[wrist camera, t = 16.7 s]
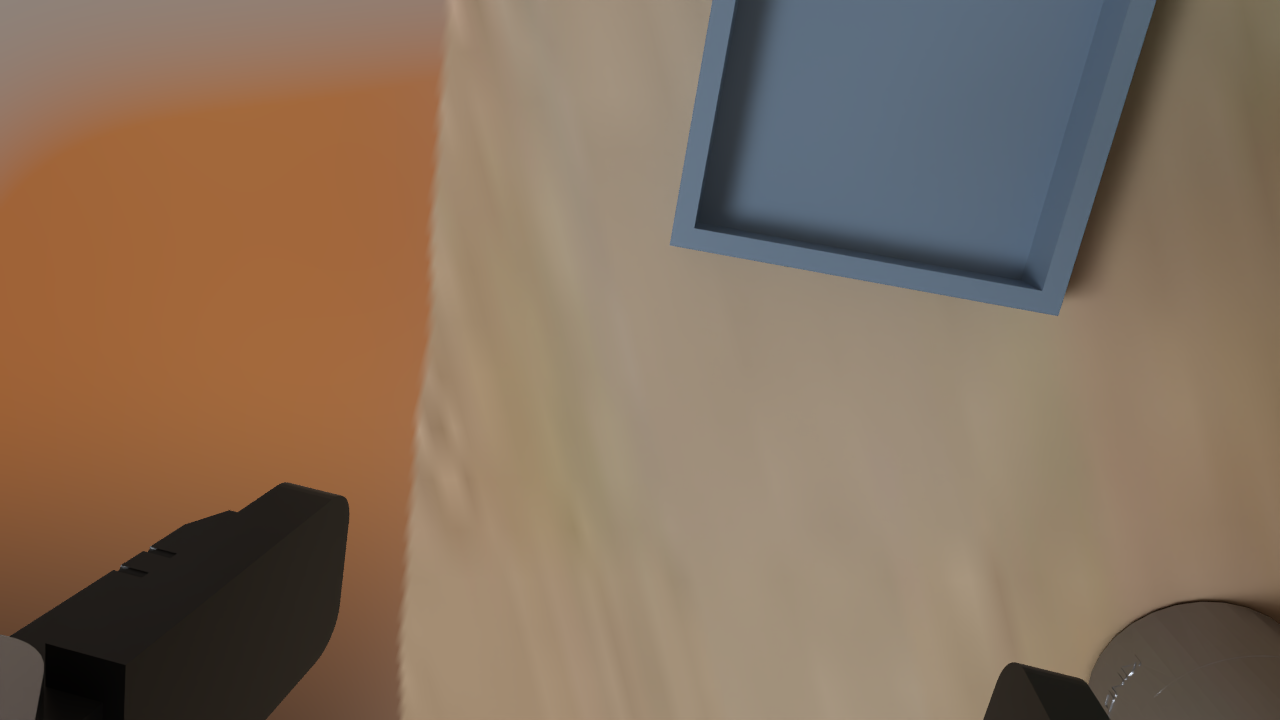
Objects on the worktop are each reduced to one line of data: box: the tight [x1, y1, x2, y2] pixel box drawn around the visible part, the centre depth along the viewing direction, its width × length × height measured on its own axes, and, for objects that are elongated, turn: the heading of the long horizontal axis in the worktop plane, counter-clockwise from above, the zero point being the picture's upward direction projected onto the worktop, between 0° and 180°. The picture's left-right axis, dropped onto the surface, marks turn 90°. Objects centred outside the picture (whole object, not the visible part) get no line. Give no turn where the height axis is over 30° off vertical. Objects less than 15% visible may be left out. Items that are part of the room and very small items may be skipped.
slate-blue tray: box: [670, 0, 1156, 316], centre depth 30 cm, size 15×15×3 cm
